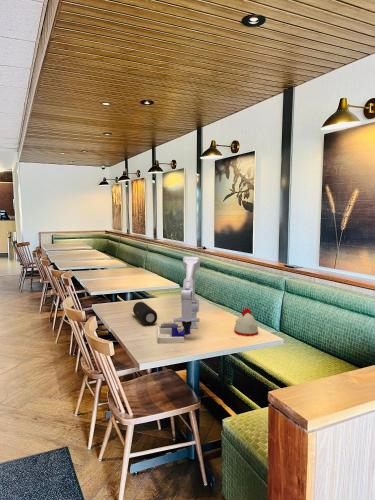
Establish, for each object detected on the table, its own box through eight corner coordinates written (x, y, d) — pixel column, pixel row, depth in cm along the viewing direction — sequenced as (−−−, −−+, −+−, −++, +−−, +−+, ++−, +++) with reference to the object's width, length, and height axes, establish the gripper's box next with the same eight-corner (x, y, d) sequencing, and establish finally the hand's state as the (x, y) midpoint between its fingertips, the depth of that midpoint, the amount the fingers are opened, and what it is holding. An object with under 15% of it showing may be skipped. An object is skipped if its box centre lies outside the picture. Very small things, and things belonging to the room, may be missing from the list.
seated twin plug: (160, 331, 214) (161, 322, 213) (177, 330, 215) (177, 322, 214) (161, 333, 210) (161, 324, 210) (178, 332, 211) (178, 324, 211)
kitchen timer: (229, 331, 216) (230, 306, 215) (245, 327, 224) (246, 303, 223) (246, 338, 205) (247, 312, 203) (262, 333, 213) (263, 308, 212)
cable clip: (177, 339, 201) (177, 329, 200) (171, 337, 204) (171, 327, 204) (192, 334, 210) (192, 324, 209) (186, 332, 213) (186, 322, 212)
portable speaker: (131, 315, 244) (132, 301, 243) (146, 314, 248) (146, 300, 247) (143, 327, 221) (143, 311, 220) (158, 325, 225) (158, 309, 224)
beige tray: (157, 330, 215) (157, 325, 215) (180, 330, 216) (180, 325, 216) (158, 343, 194) (158, 337, 194) (183, 342, 196) (184, 337, 195)
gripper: (174, 312, 196) (173, 337, 197) (200, 312, 197) (200, 336, 199) (173, 309, 203) (173, 332, 204) (199, 309, 204) (198, 332, 206)
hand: (186, 334), depth 202 cm, fingers closed
